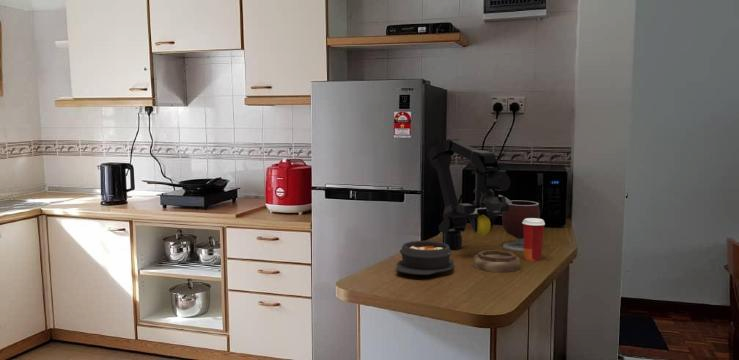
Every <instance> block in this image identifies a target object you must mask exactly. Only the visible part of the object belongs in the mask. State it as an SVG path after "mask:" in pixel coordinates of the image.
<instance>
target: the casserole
mask: <svg viewBox="0 0 739 360" xmlns="http://www.w3.org/2000/svg"><path fill="white" fill-rule="evenodd" d="M399 253H400V254H401V258H402V259H401V260H398V262H397V263H396V266H397V267H396V269H395V270H396V271H398V272H399V273H402V274H407V275H414V276H415V275H416V276H430V275H437V274H441V273H444V272H448V271H450V270H453V269H454V268H455V264H454V260H453V259H452V258H451V256H452V254H453V250H451V249H450V247H449V245H447V244H445V243H442V242H440V241H434V240H433V241H432V240H415V241H408V242H405V243H403V245H402V247H401V248H400V250H399Z"/></svg>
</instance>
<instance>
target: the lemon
mask: <svg viewBox="0 0 739 360" xmlns="http://www.w3.org/2000/svg"><path fill="white" fill-rule="evenodd" d="M490 228H491V223H490V220H489V218H488V217H487V215H485V214H481V215H479V216H478V219H477V232H476V233H477V234H478V235H480V236H481V237H482V238H483V237H484V236H486V235H488V234H489V233H490V232H491V231H490Z"/></svg>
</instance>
